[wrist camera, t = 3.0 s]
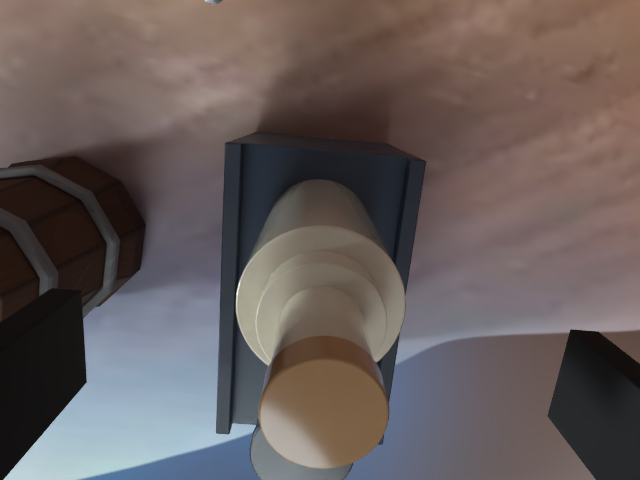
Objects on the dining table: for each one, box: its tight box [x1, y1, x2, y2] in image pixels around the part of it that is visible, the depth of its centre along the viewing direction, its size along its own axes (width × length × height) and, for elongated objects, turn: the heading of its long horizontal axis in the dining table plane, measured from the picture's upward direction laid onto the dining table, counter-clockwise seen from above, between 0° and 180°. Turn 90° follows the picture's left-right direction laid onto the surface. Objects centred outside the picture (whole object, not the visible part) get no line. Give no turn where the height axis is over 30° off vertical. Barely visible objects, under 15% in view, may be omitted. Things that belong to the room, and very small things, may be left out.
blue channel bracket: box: [216, 132, 426, 445], centre depth 30 cm, size 17×10×12 cm, turn 175°
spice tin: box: [250, 366, 354, 480], centre depth 24 cm, size 5×5×7 cm
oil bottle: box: [236, 179, 406, 469], centre depth 17 cm, size 6×6×15 cm
